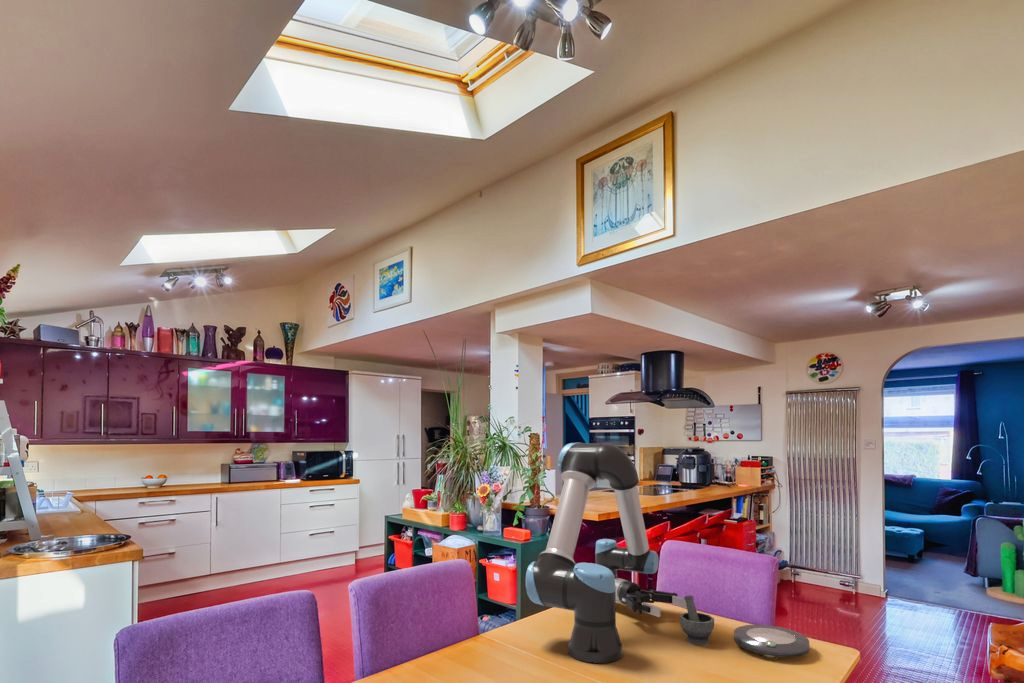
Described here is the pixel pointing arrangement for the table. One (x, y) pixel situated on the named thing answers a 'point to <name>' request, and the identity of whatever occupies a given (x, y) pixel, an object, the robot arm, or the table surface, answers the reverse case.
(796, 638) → the base
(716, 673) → the table surface
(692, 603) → the mortar and pestle
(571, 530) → the robot arm
